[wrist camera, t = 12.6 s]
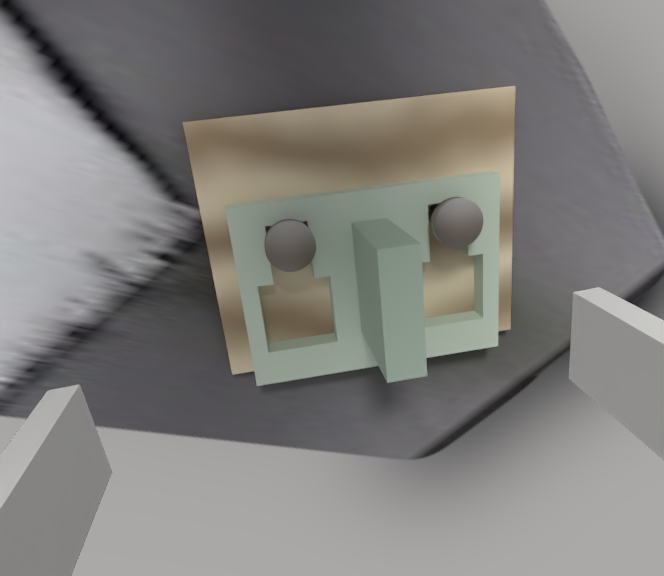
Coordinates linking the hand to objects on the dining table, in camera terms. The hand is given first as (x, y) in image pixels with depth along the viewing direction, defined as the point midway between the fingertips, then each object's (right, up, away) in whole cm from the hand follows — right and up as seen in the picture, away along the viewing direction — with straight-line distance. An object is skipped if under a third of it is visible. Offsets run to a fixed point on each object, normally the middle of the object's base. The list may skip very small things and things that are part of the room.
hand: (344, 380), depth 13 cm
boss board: (+2, +6, +23) cm, 23 cm away
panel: (+2, +3, +23) cm, 23 cm away
